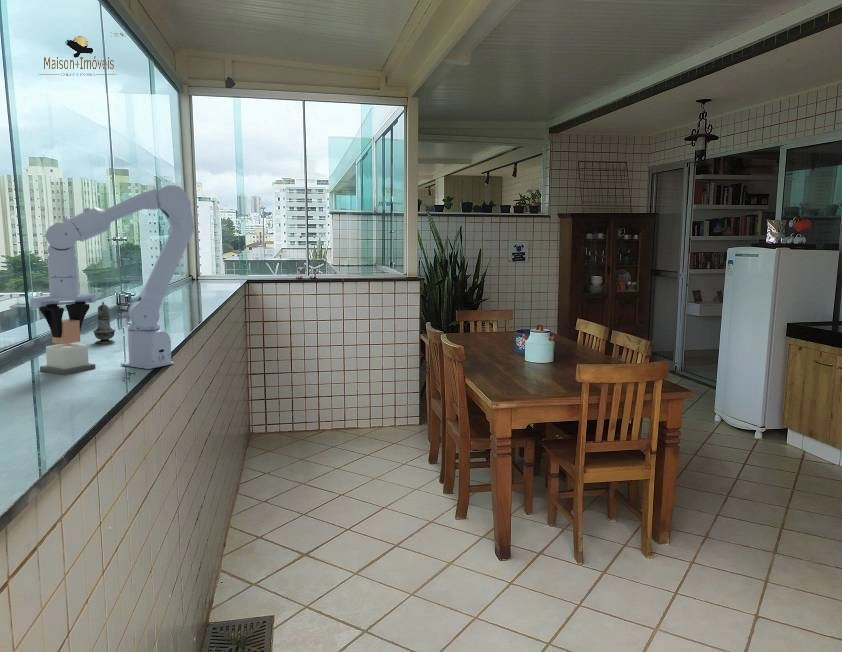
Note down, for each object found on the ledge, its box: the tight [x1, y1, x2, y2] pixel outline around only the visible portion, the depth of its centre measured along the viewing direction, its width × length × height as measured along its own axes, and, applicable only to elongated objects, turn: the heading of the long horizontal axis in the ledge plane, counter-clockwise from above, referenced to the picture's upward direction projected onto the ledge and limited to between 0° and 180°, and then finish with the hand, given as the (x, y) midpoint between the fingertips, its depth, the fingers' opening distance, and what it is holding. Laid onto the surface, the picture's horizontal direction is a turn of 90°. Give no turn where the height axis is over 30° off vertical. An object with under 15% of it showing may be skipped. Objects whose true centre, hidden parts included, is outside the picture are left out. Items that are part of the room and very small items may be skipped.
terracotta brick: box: [51, 318, 81, 344], centre depth 141 cm, size 4×4×5 cm
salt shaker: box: [92, 301, 116, 345], centre depth 177 cm, size 6×6×12 cm
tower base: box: [39, 342, 97, 376], centre depth 142 cm, size 8×8×6 cm
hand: (66, 335), depth 141 cm, fingers closed on terracotta brick, 4 cm apart
